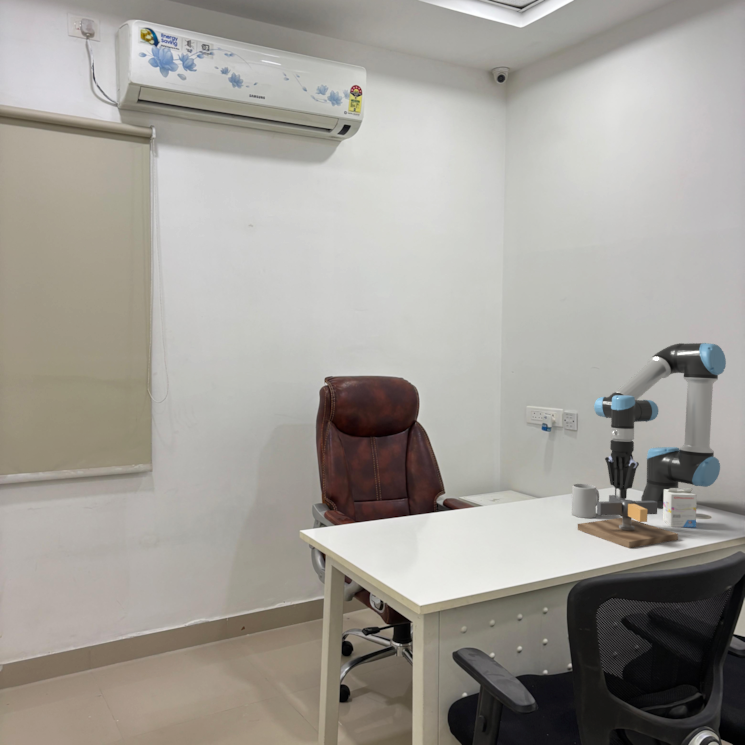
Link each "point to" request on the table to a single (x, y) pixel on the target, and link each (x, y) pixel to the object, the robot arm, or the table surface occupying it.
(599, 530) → the stud base
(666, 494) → the ink box
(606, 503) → the grey bar cross
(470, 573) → the table surface
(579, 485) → the mug
